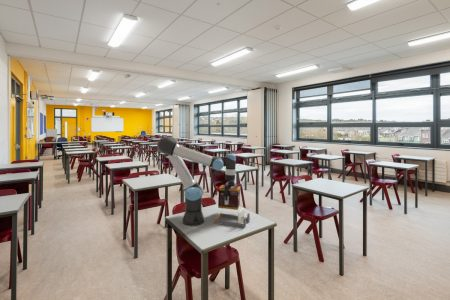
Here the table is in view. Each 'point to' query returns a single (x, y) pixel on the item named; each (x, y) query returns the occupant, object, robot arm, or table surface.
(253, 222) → the table surface
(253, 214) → the table surface
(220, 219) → the grey tray
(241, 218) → the pusher
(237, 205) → the supplement box
